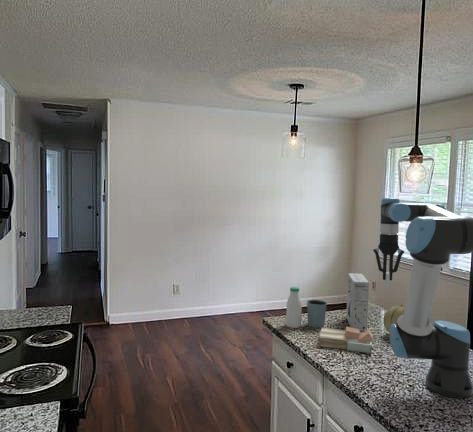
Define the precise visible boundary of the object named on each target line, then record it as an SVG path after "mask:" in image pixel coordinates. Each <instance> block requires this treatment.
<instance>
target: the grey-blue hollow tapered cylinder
mask: <svg viewBox="0 0 473 432" xmlns="http://www.w3.org/2000/svg"><path fill="white" fill-rule="evenodd" d="M327 305H328V303H327V301H324V300H320V299H309V300H307V301H306V306H307V307H306V308H307V309H306V310H307V325H308V326H309V327H311V328H324V326H325V323H326V313H327Z"/></svg>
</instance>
